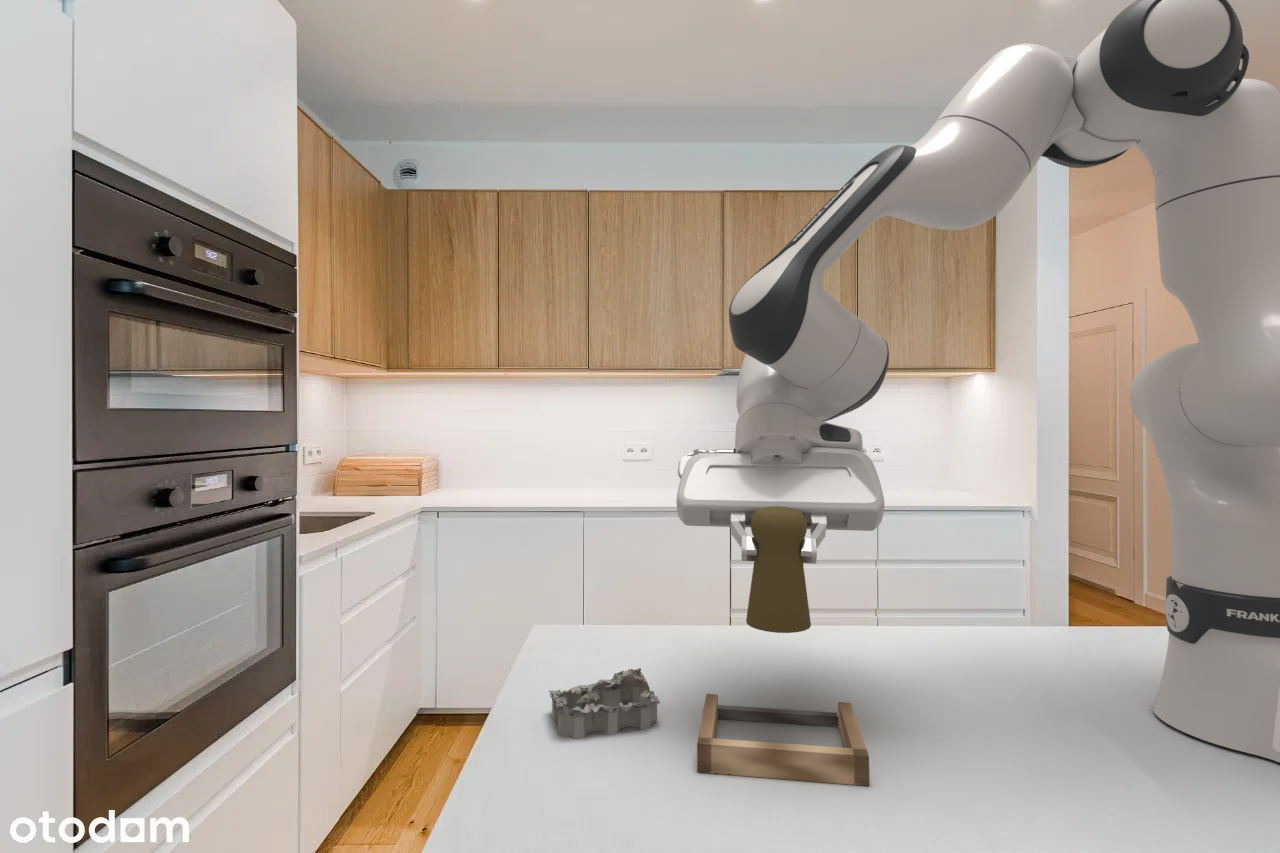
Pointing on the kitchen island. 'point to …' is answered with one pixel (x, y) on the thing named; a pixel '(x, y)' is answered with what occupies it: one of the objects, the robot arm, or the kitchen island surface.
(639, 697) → the egg carton
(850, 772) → the bay
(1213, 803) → the kitchen island surface
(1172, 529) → the robot arm
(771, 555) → the cork
